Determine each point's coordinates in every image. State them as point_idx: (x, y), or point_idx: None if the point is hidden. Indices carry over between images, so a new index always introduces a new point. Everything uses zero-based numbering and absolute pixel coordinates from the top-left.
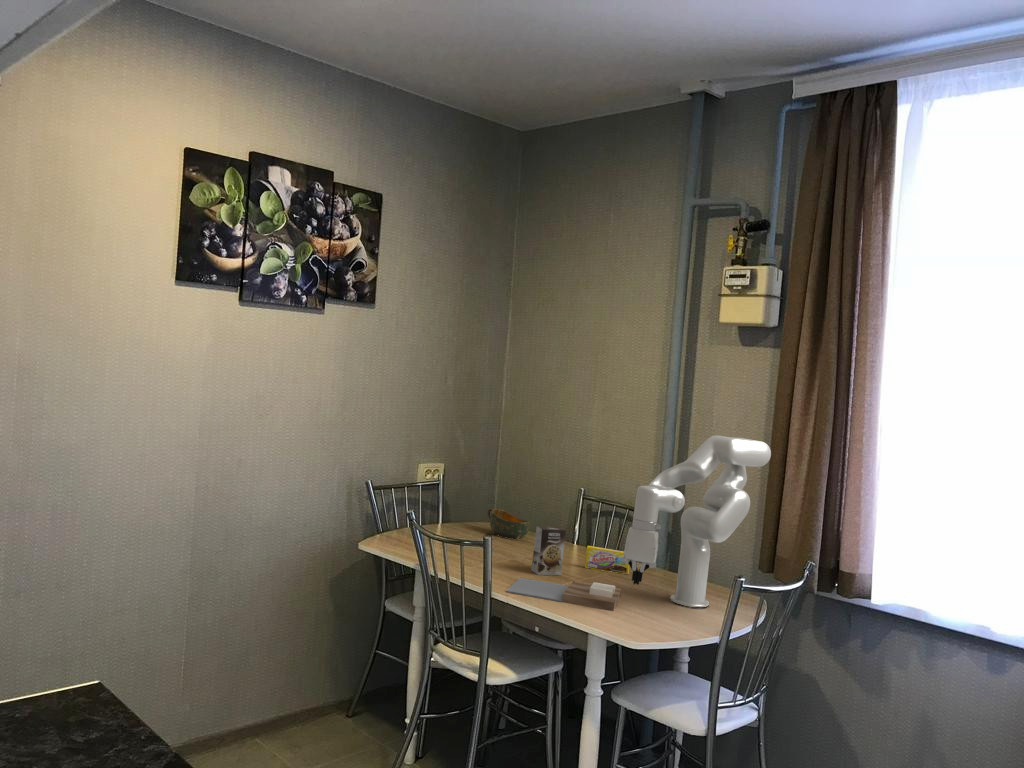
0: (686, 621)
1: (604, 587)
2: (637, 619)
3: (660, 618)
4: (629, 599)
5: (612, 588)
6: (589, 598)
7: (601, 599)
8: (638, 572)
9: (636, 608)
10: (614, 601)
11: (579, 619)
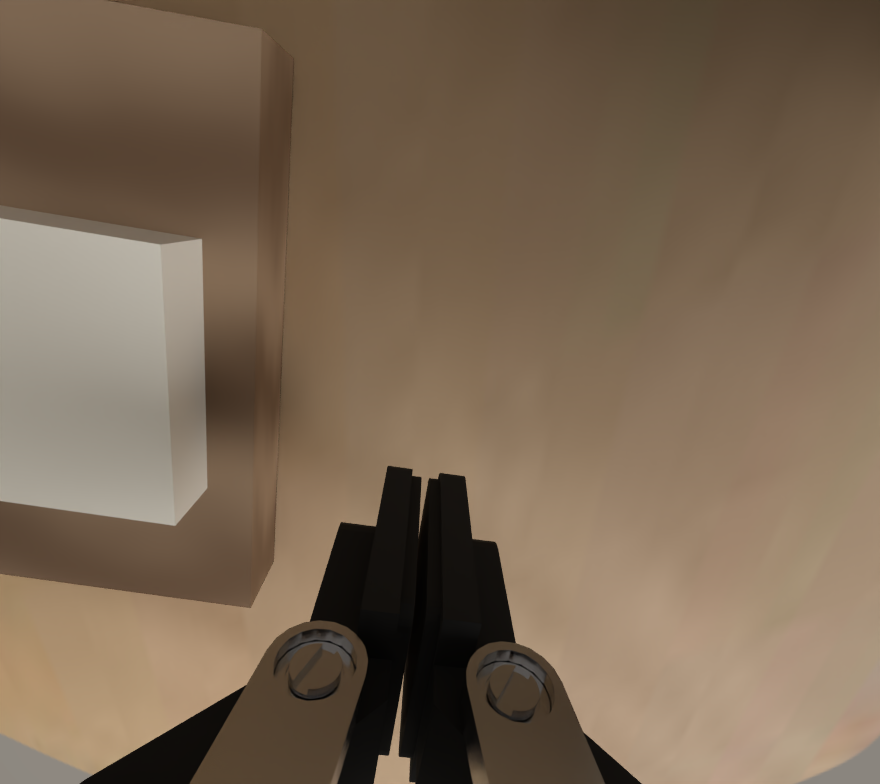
0: (799, 586)
1: (59, 406)
2: None
3: (609, 593)
4: (398, 131)
5: (153, 403)
6: (40, 578)
7: (136, 569)
8: (411, 777)
9: (452, 428)
10: (248, 579)
11: None
